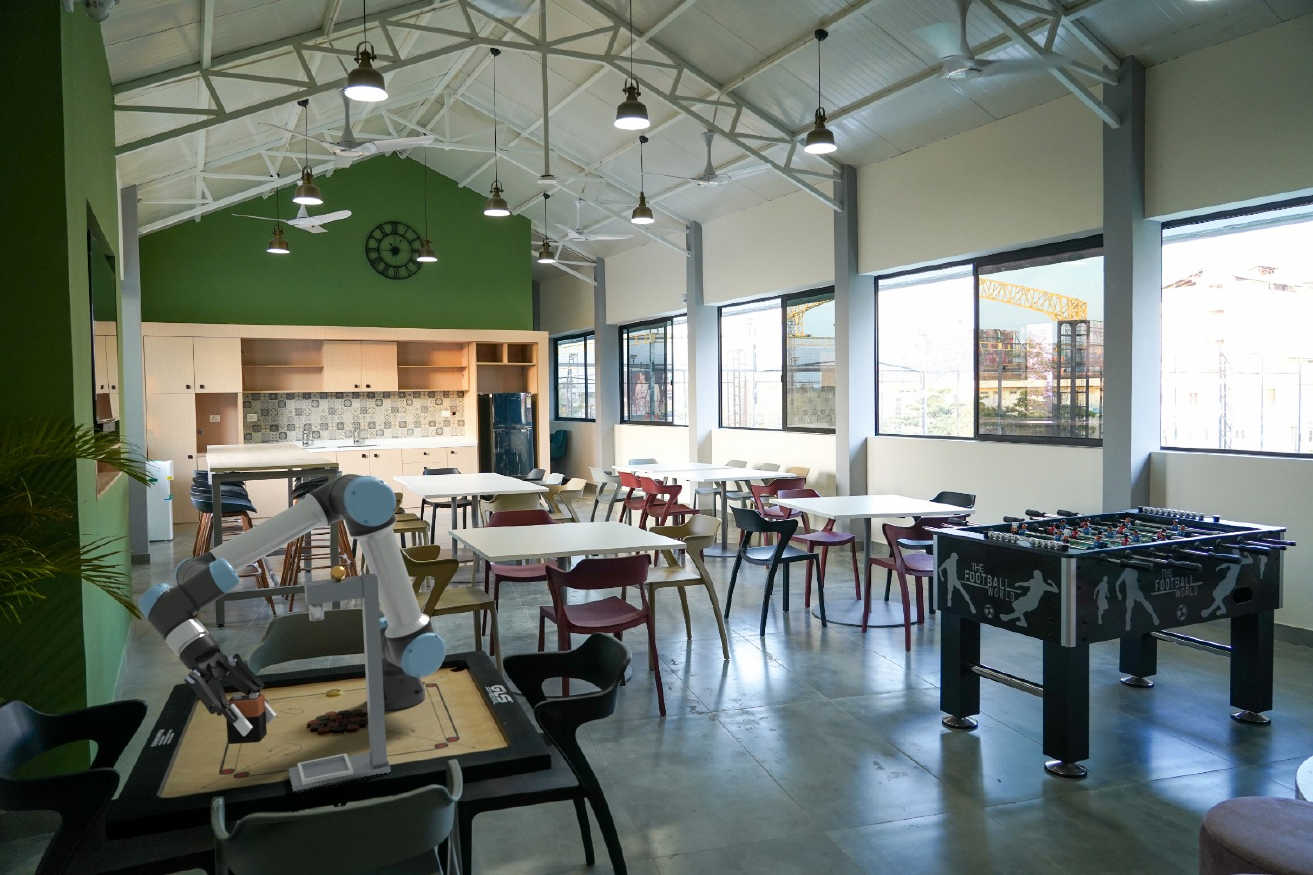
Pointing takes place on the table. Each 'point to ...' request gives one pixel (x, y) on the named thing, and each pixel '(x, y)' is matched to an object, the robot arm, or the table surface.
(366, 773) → the arbor press
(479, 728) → the table surface
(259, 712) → the battery
